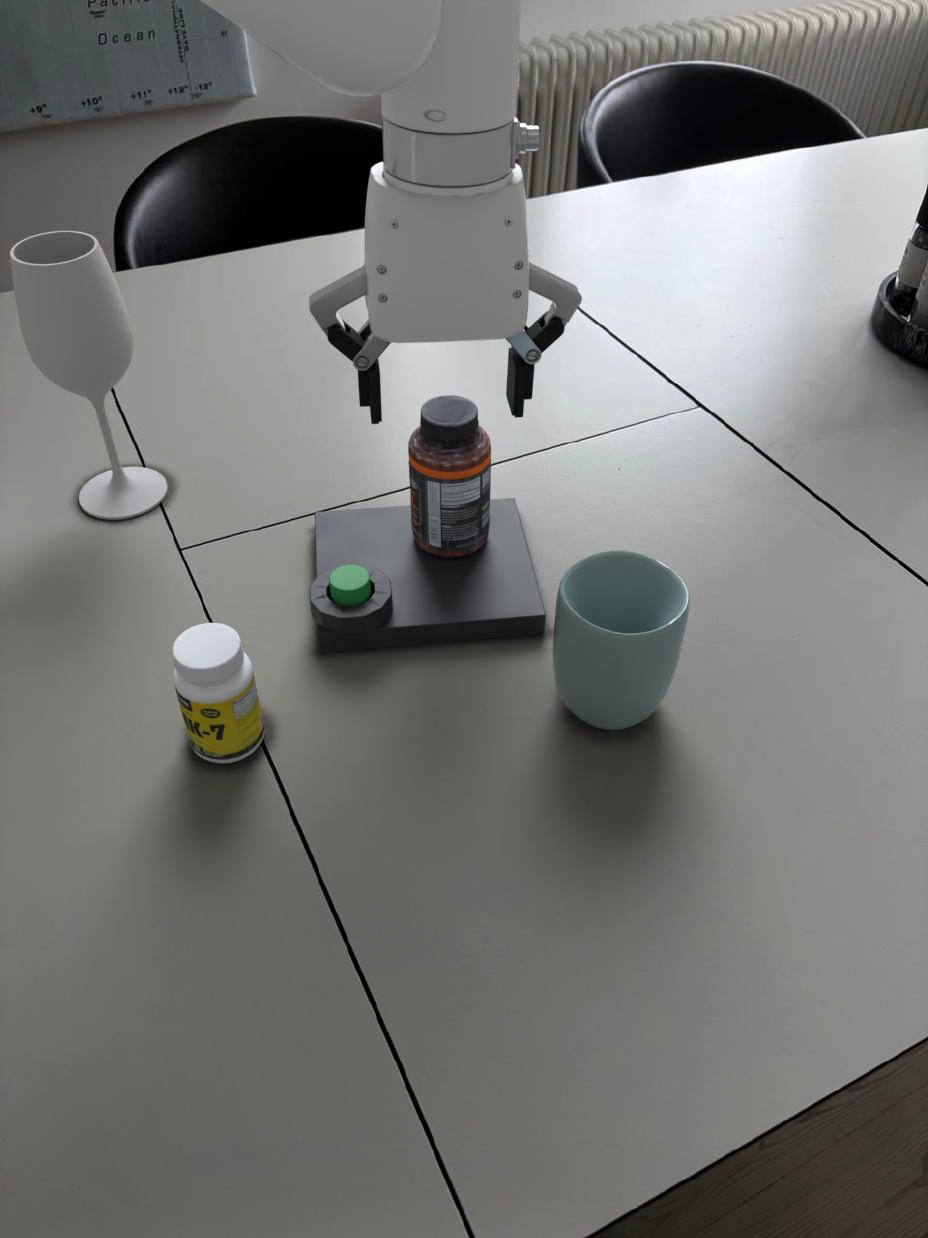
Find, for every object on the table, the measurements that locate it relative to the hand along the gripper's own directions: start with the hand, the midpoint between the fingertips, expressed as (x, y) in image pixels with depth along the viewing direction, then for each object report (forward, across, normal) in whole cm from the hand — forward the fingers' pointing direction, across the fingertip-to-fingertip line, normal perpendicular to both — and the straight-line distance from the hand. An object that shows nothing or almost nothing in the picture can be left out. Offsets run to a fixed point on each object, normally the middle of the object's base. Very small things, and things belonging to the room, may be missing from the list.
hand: (445, 410), depth 69 cm
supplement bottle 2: (+12, -1, 0) cm, 12 cm away
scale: (+13, +2, +2) cm, 14 cm away
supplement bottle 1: (+14, +16, +16) cm, 26 cm away
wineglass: (+14, +26, -12) cm, 31 cm away
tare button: (+10, +7, +7) cm, 14 cm away
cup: (+13, -9, +16) cm, 23 cm away
